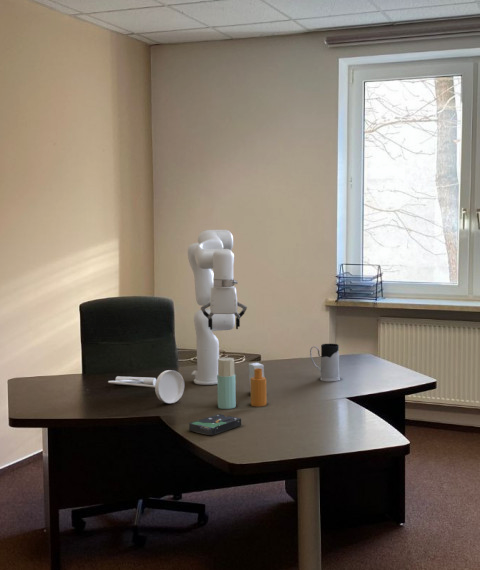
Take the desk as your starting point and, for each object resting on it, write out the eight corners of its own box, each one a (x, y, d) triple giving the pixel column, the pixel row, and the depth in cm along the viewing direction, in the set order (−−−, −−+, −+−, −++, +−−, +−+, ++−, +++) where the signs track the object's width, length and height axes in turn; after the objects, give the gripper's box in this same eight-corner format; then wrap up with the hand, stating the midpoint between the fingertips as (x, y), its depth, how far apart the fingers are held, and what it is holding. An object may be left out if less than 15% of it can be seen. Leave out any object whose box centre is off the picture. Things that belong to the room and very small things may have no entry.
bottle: (214, 407, 273) (213, 364, 272) (225, 403, 279) (225, 361, 277) (227, 409, 270) (227, 366, 268) (239, 406, 275) (238, 363, 274)
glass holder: (334, 382, 314) (333, 347, 313) (305, 378, 321) (305, 344, 320) (343, 378, 321) (343, 344, 320) (315, 375, 329) (315, 341, 328)
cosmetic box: (265, 395, 292) (264, 364, 291) (254, 396, 290) (254, 365, 289) (259, 391, 298) (258, 362, 297) (248, 393, 296) (248, 363, 295)
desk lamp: (204, 370, 292) (137, 365, 322) (159, 370, 275) (92, 365, 306) (203, 401, 291) (135, 394, 321) (157, 404, 274) (90, 395, 305)
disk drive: (219, 421, 254) (188, 430, 243) (219, 413, 254) (188, 422, 242) (241, 426, 248) (211, 436, 236) (241, 418, 248) (211, 427, 236)
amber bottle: (247, 405, 276) (247, 369, 275) (257, 402, 281) (256, 367, 280) (260, 407, 273) (259, 371, 272) (269, 404, 278) (269, 368, 276)
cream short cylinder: (215, 375, 272) (214, 359, 272) (225, 372, 277) (225, 357, 277) (227, 377, 269) (226, 361, 269) (237, 374, 274) (237, 358, 273)
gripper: (246, 282, 280) (247, 326, 282) (200, 282, 279) (201, 327, 280) (246, 284, 272) (247, 330, 274) (199, 285, 271) (200, 331, 273)
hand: (224, 328), depth 277 cm, fingers open, 9 cm apart
